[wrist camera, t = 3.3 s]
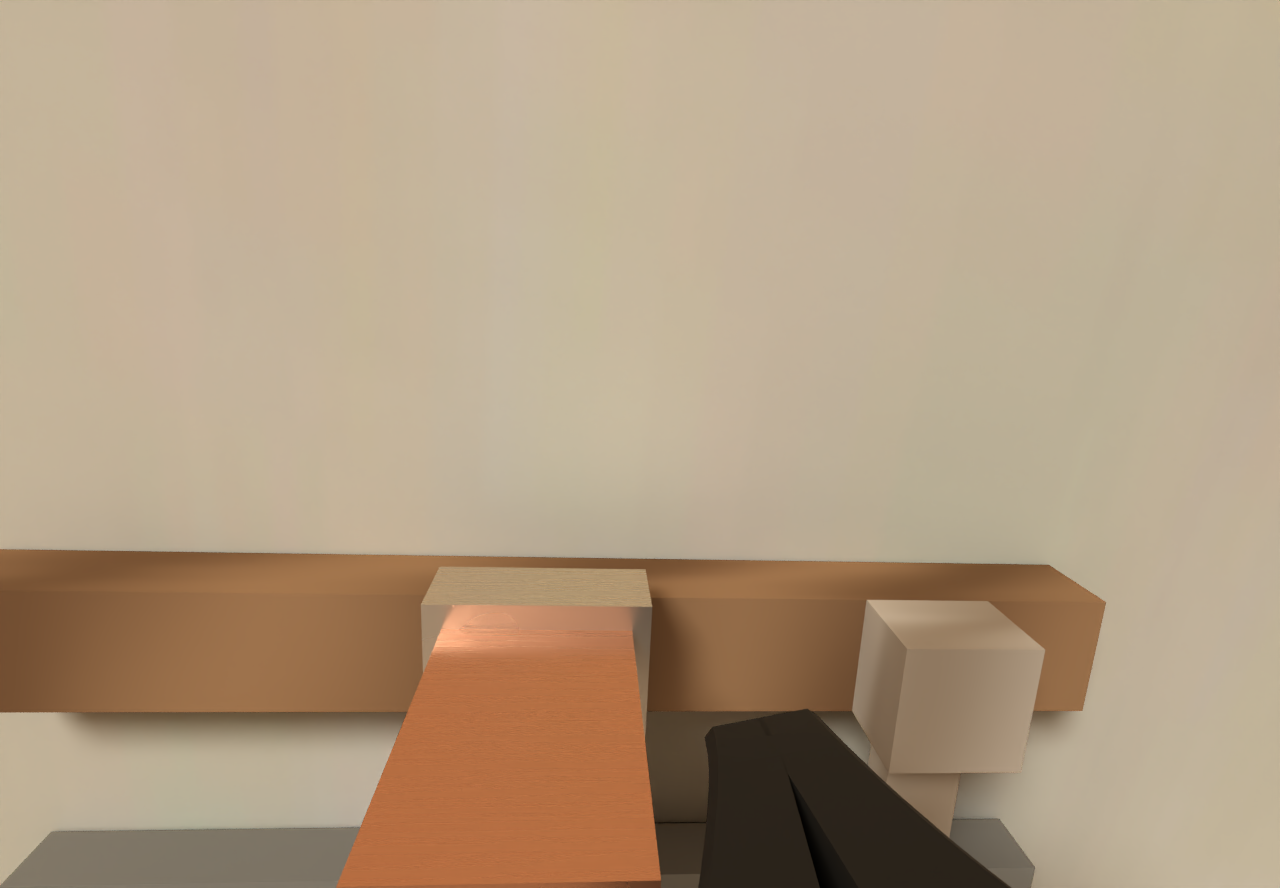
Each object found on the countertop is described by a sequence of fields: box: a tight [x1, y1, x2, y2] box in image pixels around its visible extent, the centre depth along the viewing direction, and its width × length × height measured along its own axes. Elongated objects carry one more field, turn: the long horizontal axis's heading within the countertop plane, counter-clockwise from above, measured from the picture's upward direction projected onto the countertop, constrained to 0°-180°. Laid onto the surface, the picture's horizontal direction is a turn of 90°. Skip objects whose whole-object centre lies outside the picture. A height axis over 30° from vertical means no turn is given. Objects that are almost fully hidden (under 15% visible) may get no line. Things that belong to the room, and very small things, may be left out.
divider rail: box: [0, 549, 1106, 837], centre depth 12 cm, size 18×10×3 cm, turn 87°
